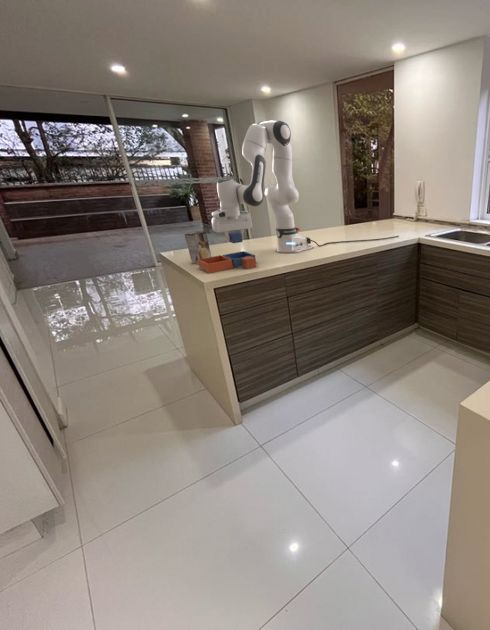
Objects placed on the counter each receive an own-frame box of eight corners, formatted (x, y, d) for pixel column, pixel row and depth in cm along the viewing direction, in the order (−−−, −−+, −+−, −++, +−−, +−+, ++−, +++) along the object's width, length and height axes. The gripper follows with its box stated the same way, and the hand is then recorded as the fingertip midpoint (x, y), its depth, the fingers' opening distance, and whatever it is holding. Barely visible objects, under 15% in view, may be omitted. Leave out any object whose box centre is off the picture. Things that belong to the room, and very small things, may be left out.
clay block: (251, 265, 183) (250, 256, 181) (256, 266, 180) (254, 257, 178) (243, 267, 180) (241, 257, 178) (247, 268, 177) (245, 259, 175)
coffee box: (202, 259, 195) (196, 230, 188) (212, 259, 193) (206, 231, 187) (191, 263, 186) (184, 234, 180) (201, 264, 185) (194, 234, 179)
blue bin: (245, 259, 195) (243, 251, 193) (256, 263, 187) (255, 255, 185) (224, 263, 187) (222, 255, 185) (234, 267, 179) (233, 259, 177)
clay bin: (222, 263, 186) (220, 255, 184) (233, 268, 178) (231, 259, 176) (199, 268, 178) (197, 259, 176) (209, 273, 170) (207, 264, 168)
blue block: (238, 240, 185) (236, 231, 183) (242, 242, 182) (241, 232, 180) (229, 242, 182) (227, 232, 180) (233, 243, 179) (231, 233, 176)
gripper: (246, 209, 184) (250, 235, 190) (208, 213, 171) (213, 240, 176) (252, 210, 180) (256, 236, 186) (213, 214, 167) (218, 242, 172)
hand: (235, 238), depth 181 cm, fingers closed on blue block, 5 cm apart
